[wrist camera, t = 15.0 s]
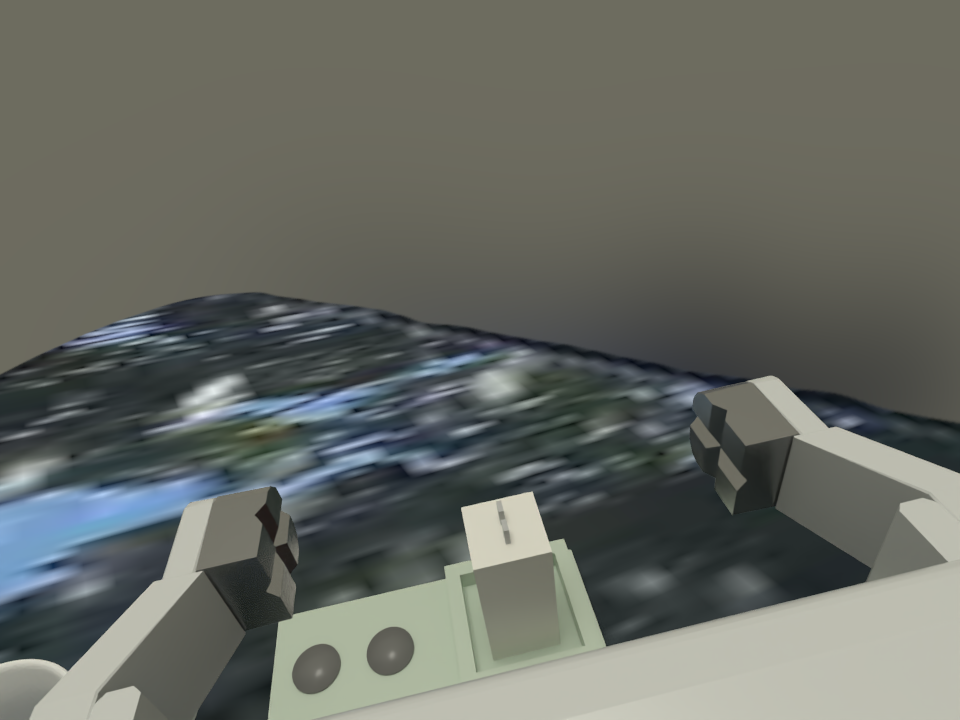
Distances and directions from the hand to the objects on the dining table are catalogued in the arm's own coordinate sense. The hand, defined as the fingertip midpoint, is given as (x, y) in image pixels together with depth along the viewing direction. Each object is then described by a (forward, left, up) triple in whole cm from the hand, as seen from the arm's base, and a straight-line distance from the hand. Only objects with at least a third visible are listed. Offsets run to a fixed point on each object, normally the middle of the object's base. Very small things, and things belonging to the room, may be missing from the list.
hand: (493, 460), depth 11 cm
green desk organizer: (-11, +10, -32) cm, 35 cm away
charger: (-5, +13, -30) cm, 33 cm away
